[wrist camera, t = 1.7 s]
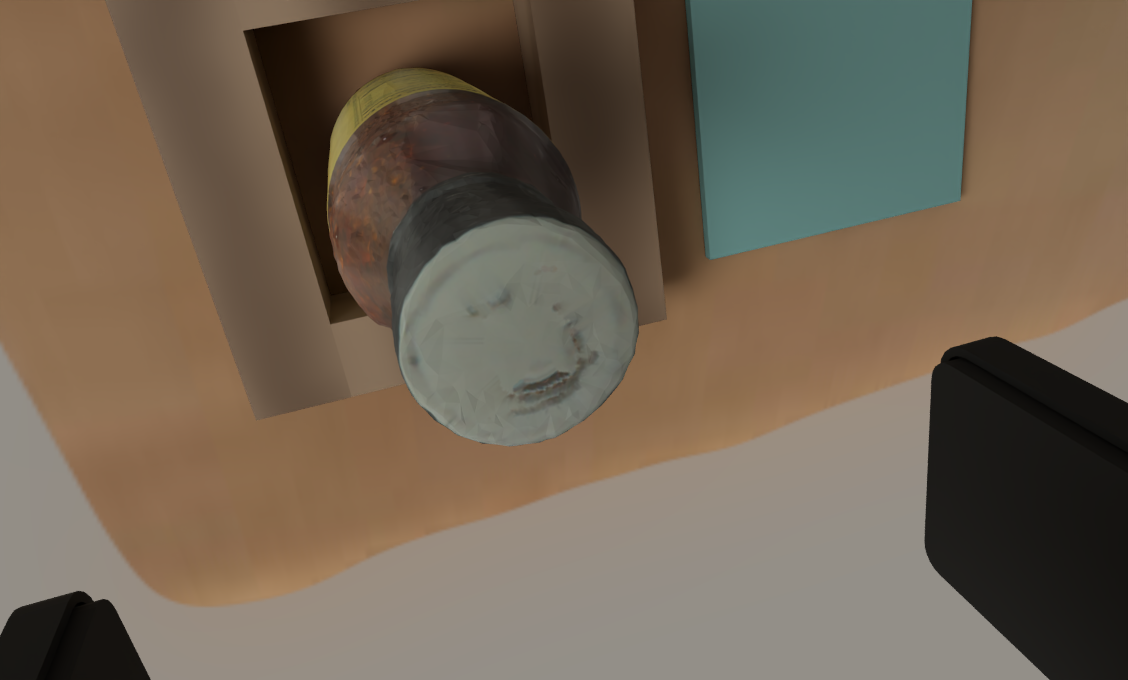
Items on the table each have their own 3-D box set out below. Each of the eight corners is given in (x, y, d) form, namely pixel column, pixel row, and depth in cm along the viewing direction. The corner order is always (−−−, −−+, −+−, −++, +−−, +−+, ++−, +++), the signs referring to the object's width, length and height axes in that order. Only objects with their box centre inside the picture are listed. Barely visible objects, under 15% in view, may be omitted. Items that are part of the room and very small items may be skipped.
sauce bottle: (483, 240, 33) (652, 544, 16) (319, 218, 31) (301, 534, 14) (513, 71, 31) (751, 200, 13) (339, 36, 29) (347, 133, 11)
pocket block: (592, -130, 29) (618, -141, 26) (642, 293, 36) (666, 319, 33) (109, -56, 26) (83, -59, 24) (262, 384, 33) (256, 420, 31)
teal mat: (969, -99, 33) (977, -100, 32) (953, 197, 38) (960, 200, 37) (681, -49, 31) (686, -49, 30) (705, 256, 36) (710, 259, 35)
